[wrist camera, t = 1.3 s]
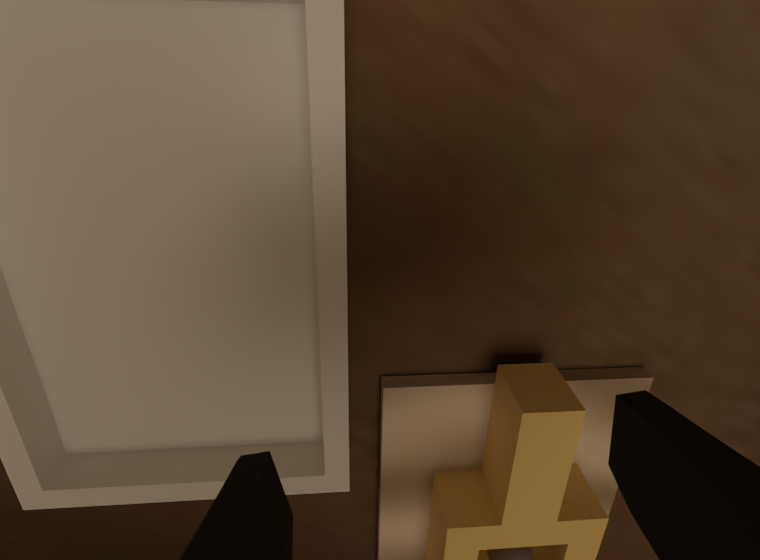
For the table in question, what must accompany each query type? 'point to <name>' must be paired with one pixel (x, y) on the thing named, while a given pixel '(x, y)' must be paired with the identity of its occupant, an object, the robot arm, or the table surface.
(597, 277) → the table surface
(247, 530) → the robot arm
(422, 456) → the board
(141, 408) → the tray
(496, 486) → the tabbed collar
